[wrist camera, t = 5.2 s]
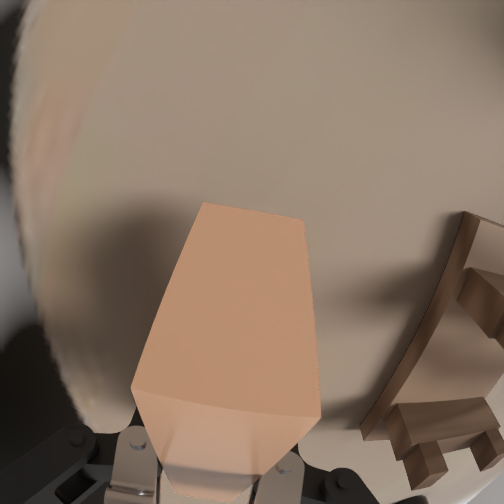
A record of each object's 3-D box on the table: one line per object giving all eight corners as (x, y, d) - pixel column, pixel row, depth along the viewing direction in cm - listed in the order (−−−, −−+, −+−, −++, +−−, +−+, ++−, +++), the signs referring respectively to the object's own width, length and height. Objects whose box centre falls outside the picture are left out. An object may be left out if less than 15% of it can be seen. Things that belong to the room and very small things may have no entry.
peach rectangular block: (203, 202, 9) (130, 388, 4) (303, 220, 9) (321, 417, 4) (192, 406, 17) (175, 493, 12) (239, 414, 17) (230, 502, 13)
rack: (465, 211, 13) (562, 272, 6) (550, 246, 14) (617, 295, 7) (359, 425, 20) (378, 508, 13) (452, 419, 20) (480, 481, 13)
